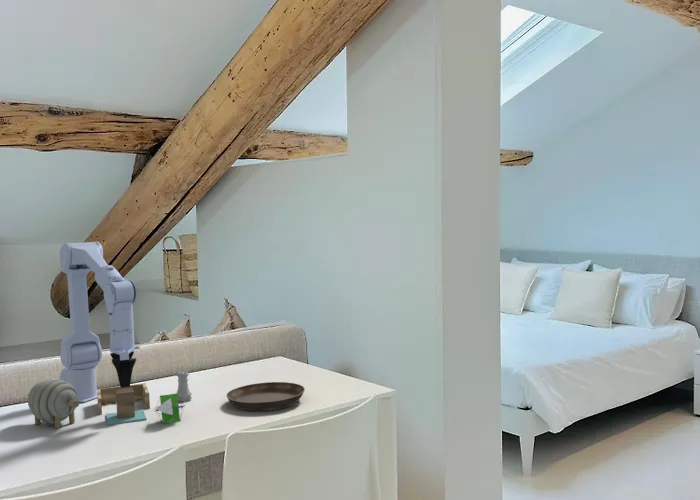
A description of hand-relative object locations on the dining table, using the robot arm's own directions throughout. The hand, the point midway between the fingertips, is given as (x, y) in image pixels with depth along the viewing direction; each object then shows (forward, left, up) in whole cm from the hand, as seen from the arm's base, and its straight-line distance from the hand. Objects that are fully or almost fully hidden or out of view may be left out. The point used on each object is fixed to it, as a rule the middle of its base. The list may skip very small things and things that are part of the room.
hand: (124, 383), depth 169 cm
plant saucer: (+27, +23, -9) cm, 37 cm away
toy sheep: (-13, -10, -9) cm, 19 cm away
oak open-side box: (-8, +8, -9) cm, 14 cm away
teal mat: (0, 0, -9) cm, 9 cm away
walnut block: (0, 0, -8) cm, 8 cm away
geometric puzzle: (+13, +1, -9) cm, 16 cm away
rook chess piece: (+4, +18, -9) cm, 21 cm away
